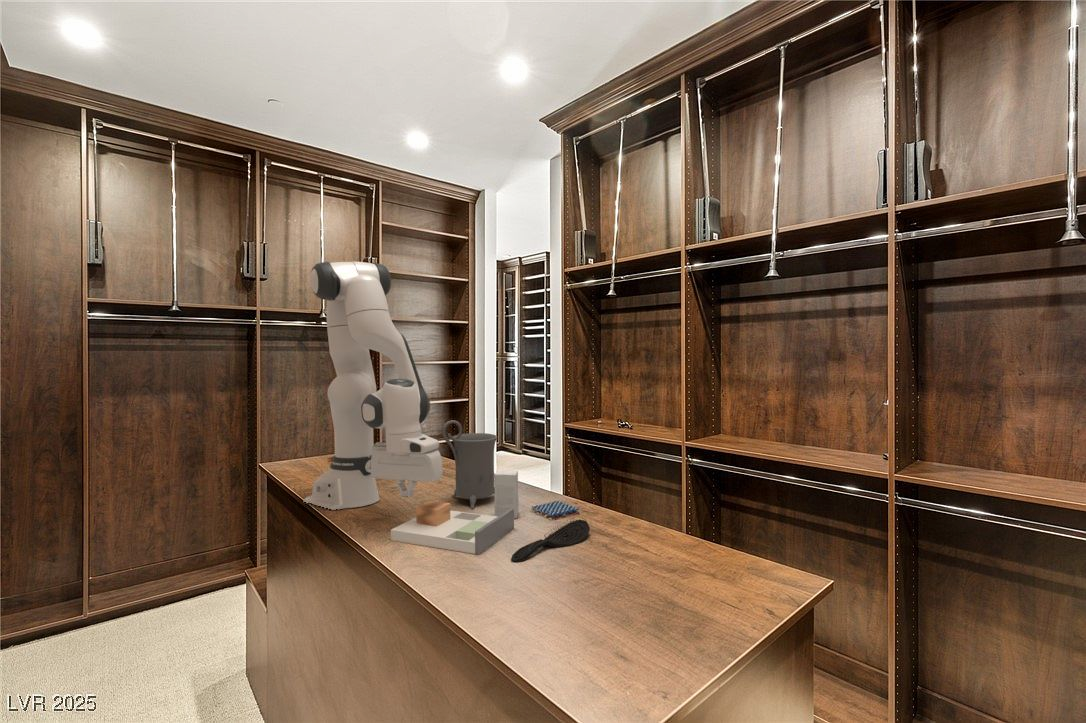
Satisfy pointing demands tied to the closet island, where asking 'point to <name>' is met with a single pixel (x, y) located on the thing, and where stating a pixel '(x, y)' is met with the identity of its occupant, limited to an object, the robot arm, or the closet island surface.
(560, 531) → the hairbrush
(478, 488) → the mug
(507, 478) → the skincare box
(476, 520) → the trap deck
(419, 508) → the block
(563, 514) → the woven mat
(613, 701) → the closet island surface
